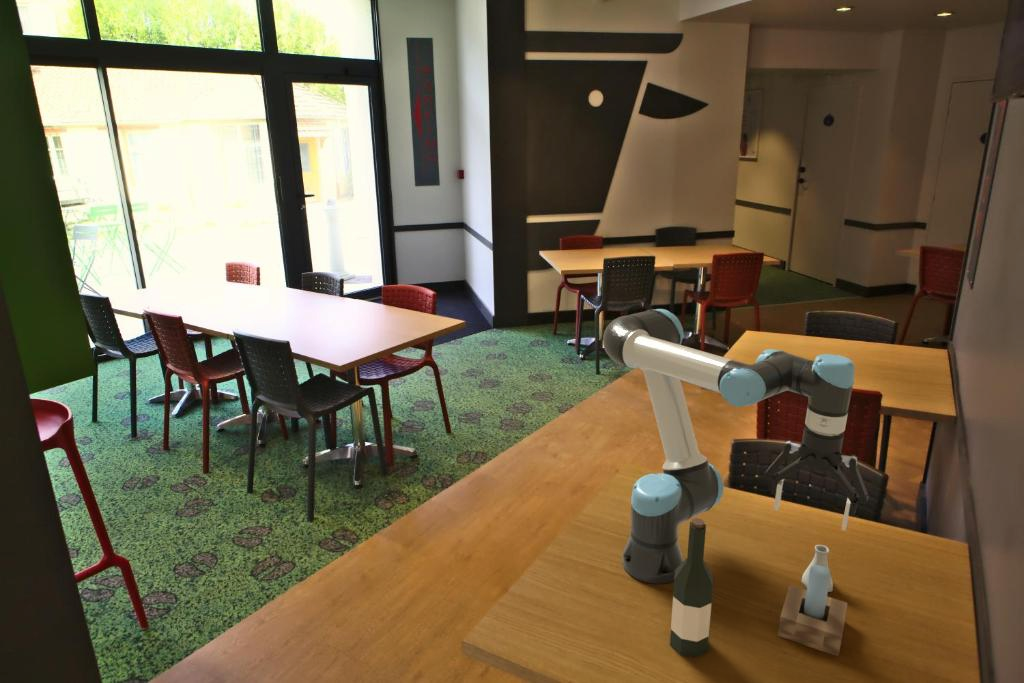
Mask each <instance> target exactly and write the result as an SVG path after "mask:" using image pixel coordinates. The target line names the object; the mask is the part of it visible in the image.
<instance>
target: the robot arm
mask: <svg viewBox="0 0 1024 683" xmlns="http://www.w3.org/2000/svg"><path fill="white" fill-rule="evenodd" d="M683 339H684V329H683V326H682V323H681V321H680V320H679V318H678V317H677V316H676V315H675V314H674V313H672V312H670V311H669V310H667V309H664V308H656V309H647V310H645V311H641V312H636V313H631V314H629V315H623V316H619V317H617V318H614V319H613V320H612V321H611V322H610V323H609V324H608V325H607V326H606V328H605V330H604V332H603V337H602V343H603V344H602V345H603V349H604V351H605V353H606V354H607V355H608V357H609V358H610V359H611V360H612V361H614V362H615V363H618V364H619V365H623V366H624V367H628V368H631V369H640V370H641V371H643V375H644V379H645V383H646V386H647V390H648V391H647V392H648V394H649V397H650V402H651V405H652V410H653V412H654V418H655V421H656V425H657V429H658V431H659V432H658V433H659V437H660V440H661V443H662V447H663V451H664V456H665V461H664V462H663V465H662V466H661V467H662V470H663V472H662V473H661V472H658V473H656V474H655V473H649V474H646V475H643V476H641V477H640V478H639V479H637V480H636V481H635V482H634V484H633V487H632V493H631V498H630V503H631V508H630V510H631V511H630V535H629V538H628V539H627V542H626V544H625V546H624V549H623V552H622V559H621V560H622V561H621V562H622V566H623V568H624V570H625V572H627V573H628V575H630V576H631V577H632V578H634V579H636V580H638V581H642V582H645V583H649V584H655V585H656V584H657V585H660V584H668V583H671V582H674V577H675V570H676V569H677V568H678V567H679V565H680V564H681V563H682V562H683V561H684V559H683V555H682V554H683V553H682V551H681V547H680V544H679V541H678V539H679V537H678V536H679V526H680V525H681V524H682V523H685V522H686V521H689V520H690V519H691V520H692V519H694V517H696V516H699V515H701V514H703V513H706V512H708V511H710V510H711V509H712V508H713V507H715V506H716V505H717V504H719V502H720V501H721V499H722V498H723V494H724V489H725V488H724V480H723V477H722V476H721V473H720V472H719V470H718V469H717V470H716V466H715V465H714V464H711V463H710V462H709V460H708V458H707V456H705V455H703V454H702V453H701V452H700V451H699V446H698V442H697V439H696V436H695V430H694V427H693V424H692V421H691V420H692V419H691V416H690V412H689V409H688V403H687V400H686V396H685V392H684V390H683V385H682V382H681V381H683V382H686V383H689V384H692V385H695V386H698V387H701V388H704V389H706V390H710V391H712V392H713V391H714V392H716V393H719V394H721V396H722V398H723V399H724V401H726V402H727V403H728V404H729V405H730V406H733V407H735V408H743V407H746V406H753V405H755V404H757V403H759V402H761V401H763V400H765V399H768V398H771V397H773V396H776V395H778V394H780V393H781V394H782V393H783V392H786V391H787V392H788V391H789V392H792V393H795V394H799V395H801V396H805V397H808V402H807V409H806V415H805V421H804V424H805V426H804V428H803V433H802V439H801V444H797V443H794V442H793V440H791V439H788V440H787V441H786V443H785V446H784V448H783V450H782V452H781V453H779V455H778V456H777V457H776V458H775V460H774V461H773V462H772V463H771V464H770V465H769V466H768V468H767V469H766V471H765V473H764V475H763V477H764V478H766V479H769V480H770V481H771V490H770V494H771V495H773V496H775V497H774V505H773V511H774V512H775V511H776V512H778V510H779V508H780V505H781V501H782V495H783V494H782V493H783V485H784V479H786V478H787V477H789V476H790V475H792V474H793V473H795V472H796V471H798V470H800V469H803V468H804V467H805V466H806V467H807V468H808V469H810V470H814V471H815V470H817V471H819V472H822V473H826V472H828V473H829V474H830V475H831V477H833V479H834V480H835V481H836V483H837V484H838V485H839V487H840V488H841V490H842V491H843V493H844V494H845V495H846V497H847V499H846V503H845V509H844V512H843V513H844V514H843V520H842V522H841V523H842V525H841V528H840V529H841V531H846V529H847V525H848V520H849V516H850V517H855V515H856V511H857V506H858V504H864V505H866V504H867V503H868V501H869V493H868V491H867V490H868V489H867V488H866V486H865V483H864V480H863V477H862V475H861V473H860V469H859V467H858V456H857V455H856V454H851V455H843V454H842V448H843V444H844V436H845V434H844V432H845V431H846V425H847V420H848V414H849V407H850V401H851V397H852V391H853V387H854V384H855V380H854V379H855V370H856V364H855V363H854V361H853V360H852V359H850V358H848V357H846V356H843V355H839V354H837V355H835V354H831V353H824V354H819V355H817V356H816V357H815V359H814V360H811V359H809V358H804V357H801V356H799V355H795V354H792V353H788V352H787V351H784V350H778V349H773V348H769V349H768V348H767V349H765V350H763V351H762V352H761V353H760V354H759V355H758V357H757V358H756V360H755V362H754V363H751V364H749V363H745V362H740V361H737V360H734V359H731V358H727V357H724V356H720V355H717V354H713V353H710V352H707V351H702V350H699V349H696V348H692V347H689V346H686V345H682V342H683ZM796 451H797V452H798V454H799V456H800V457H799V458H798V459H796V460H795V461H793V462H792V463H790V464H788V465H787V466H785V467H784V468H782V469H780V470H779V471H778V472H776V471H777V470H778V468H779V467H780V466H781V465H782V463H784V462H785V460H786V459H787V458H788V456H789V454H794V453H795V452H796ZM842 462H843V463H844V464H845V466H846V467H847V468H848V470H849V474H850V476H851V479H852V482H853V484H854V486H855V489H856V490H855V489H854V487H853V486H852V484H851V483H850V481H849V480H848V478H847V477H846V476H845V474H844V473H843V472H842V470H841V467H840V465H839V464H841V463H842Z"/></svg>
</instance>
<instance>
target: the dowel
mask: <svg viewBox="0 0 1024 683" xmlns="http://www.w3.org/2000/svg"><path fill="white" fill-rule="evenodd" d="M830 575H831V571H830V569H829V570H828V569H827V568H825V567H823V566H819V565H814V566H811V567H810V572H809V579H808V586H807V587H806V590H807V592H806V599H805V606H804V613H803V614H804V615H807V616H810V617H813V618H816V619H819V620H822V621H823V618H824V612H825V606H826V599H827V597H828V593H829V592H828V587H829V581H830Z"/></svg>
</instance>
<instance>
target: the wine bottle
mask: <svg viewBox="0 0 1024 683" xmlns="http://www.w3.org/2000/svg"><path fill="white" fill-rule="evenodd" d="M706 530H707V524H705V520H703V519H701V518H691V521H690V522H689V530H688V542H687V543H688V544H687V557H686V558H685V559H683V562H682V563H681V564H680V565H679V567H678V568H677V569H676V570H675V577H674V581H673V592H672V606H671V622H670V624H671V625H670V634H669V635H670V636H669V638H670V639H669V646H670V647H672V649H673V650H674V651H676V653H677V654H679V655H680V656H683V657H689V658H694V659H695V658H698V657H701V656H702V655H705V654H707V653H708V647H709V636H710V635H709V634H710V624H711V612H712V601H713V593H714V591H713V589H714V575H713V574H712V572H711V569H709V567H708V565H707V564H706V562H705V561H704V555H705V546H706V545H705V543H706V532H707V531H706Z"/></svg>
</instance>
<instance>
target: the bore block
mask: <svg viewBox="0 0 1024 683" xmlns="http://www.w3.org/2000/svg"><path fill="white" fill-rule="evenodd" d="M806 592H807V589H804V588H800V587H798V586H797V587H796V586H793V585H789V587H788V588H787V593H786V596H785V599H784V603H783V605H782V610H781V613H780V617H779V623H778V631H777V637H781V638H783V639H786V640H789V641H792V642H795V643H798V644H800V645H804V646H807V647H809V648H812V649H815V650H818V651H820V652H824V653H826V654H830V655H832V656H835V657H840V651H841V650H840V649H841V646H842V639H843V634H844V629H845V628H844V627H845V622H846V615H847V608H848V602H846V601H843V600H840V599H836V598H833V597H830V596H827V599H826V606H825V612H824V618H823V621H822V620H819V619H816V618H813V617H810V616H807V615H804V614H803V613H804V606H805V599H806Z"/></svg>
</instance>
